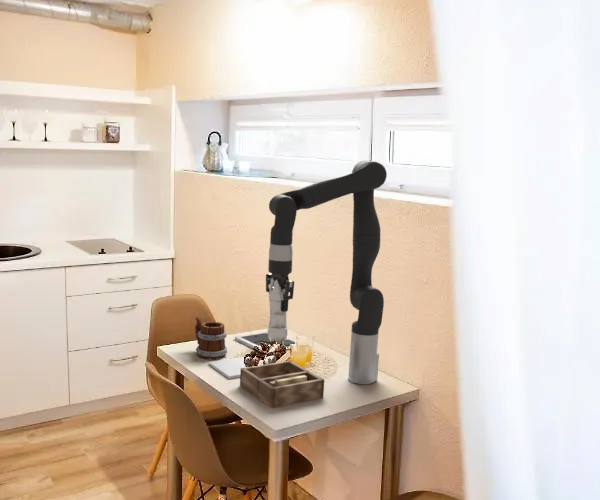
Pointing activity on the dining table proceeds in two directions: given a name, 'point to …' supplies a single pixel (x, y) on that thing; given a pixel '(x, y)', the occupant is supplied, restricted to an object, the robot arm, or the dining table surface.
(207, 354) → the mug
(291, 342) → the picture frame
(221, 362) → the grey plate
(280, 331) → the plastic bottle
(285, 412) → the dining table surface
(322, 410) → the dining table surface
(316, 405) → the dining table surface
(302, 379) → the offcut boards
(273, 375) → the walnut divided box
